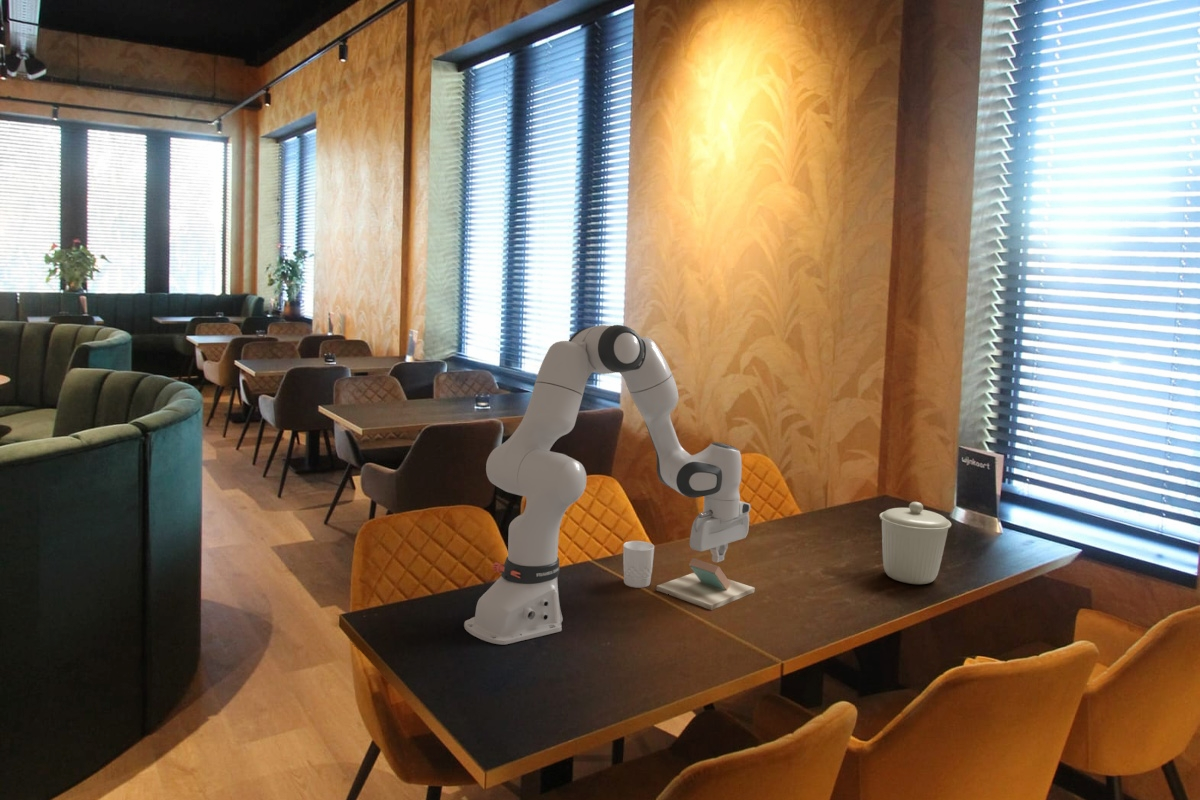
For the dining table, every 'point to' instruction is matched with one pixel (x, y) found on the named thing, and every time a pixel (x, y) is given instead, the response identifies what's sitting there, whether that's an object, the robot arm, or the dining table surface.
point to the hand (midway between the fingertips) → (717, 561)
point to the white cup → (637, 563)
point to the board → (704, 591)
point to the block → (709, 574)
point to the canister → (913, 543)
